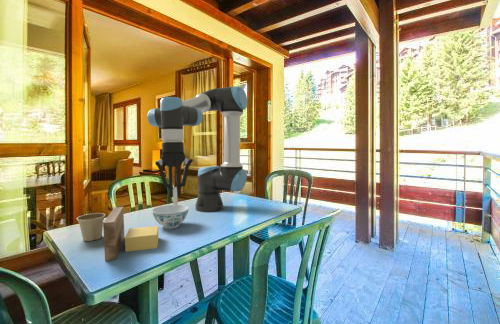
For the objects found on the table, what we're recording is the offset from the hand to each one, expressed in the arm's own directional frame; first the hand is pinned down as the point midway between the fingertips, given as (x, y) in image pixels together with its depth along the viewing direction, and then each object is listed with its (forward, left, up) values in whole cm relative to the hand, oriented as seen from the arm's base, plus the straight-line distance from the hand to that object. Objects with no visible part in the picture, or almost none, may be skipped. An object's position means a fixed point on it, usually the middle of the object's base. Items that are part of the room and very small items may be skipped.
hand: (175, 205), depth 96 cm
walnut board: (+20, 0, -13) cm, 24 cm away
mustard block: (+11, 0, -14) cm, 18 cm away
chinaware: (+1, -18, -13) cm, 22 cm away
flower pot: (+30, -13, -13) cm, 35 cm away
